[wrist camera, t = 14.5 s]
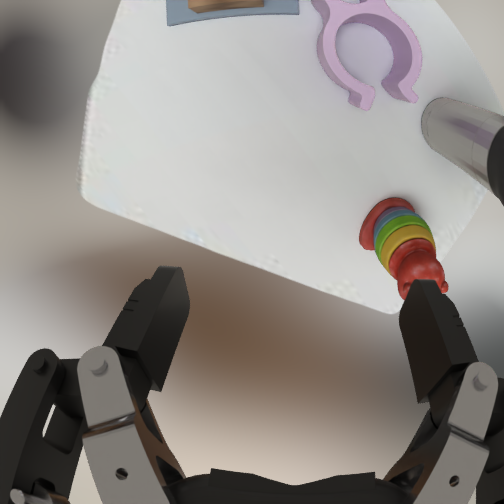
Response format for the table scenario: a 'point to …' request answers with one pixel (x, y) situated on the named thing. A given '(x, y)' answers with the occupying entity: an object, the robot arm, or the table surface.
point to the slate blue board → (226, 11)
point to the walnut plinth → (222, 5)
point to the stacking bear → (402, 244)
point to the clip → (395, 31)
